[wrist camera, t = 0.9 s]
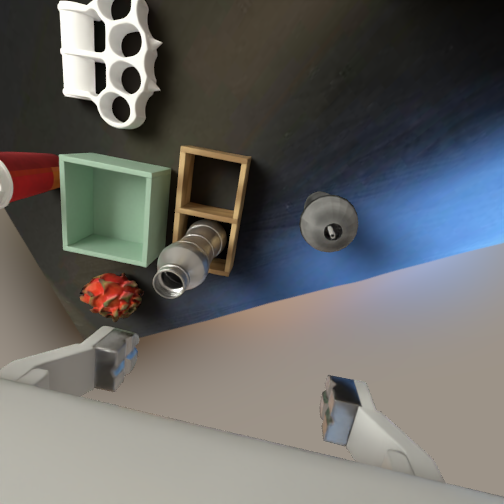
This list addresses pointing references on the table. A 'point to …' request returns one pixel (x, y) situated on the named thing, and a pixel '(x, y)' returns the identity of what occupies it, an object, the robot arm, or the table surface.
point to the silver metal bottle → (189, 258)
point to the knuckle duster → (107, 57)
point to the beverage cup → (328, 222)
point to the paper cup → (27, 175)
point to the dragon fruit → (112, 295)
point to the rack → (209, 212)
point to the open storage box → (114, 207)
